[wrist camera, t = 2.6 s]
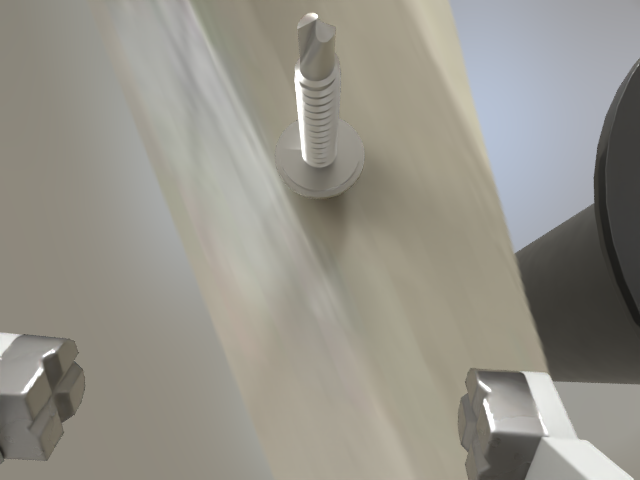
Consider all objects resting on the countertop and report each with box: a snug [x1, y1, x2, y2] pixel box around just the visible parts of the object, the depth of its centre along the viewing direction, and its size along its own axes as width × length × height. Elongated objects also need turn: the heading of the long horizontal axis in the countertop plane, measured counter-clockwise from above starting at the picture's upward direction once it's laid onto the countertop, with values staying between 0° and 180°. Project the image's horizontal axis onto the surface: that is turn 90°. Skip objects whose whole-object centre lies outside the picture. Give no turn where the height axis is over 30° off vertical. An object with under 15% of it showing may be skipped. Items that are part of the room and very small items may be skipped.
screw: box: [275, 13, 365, 199], centre depth 23 cm, size 13×5×5 cm
